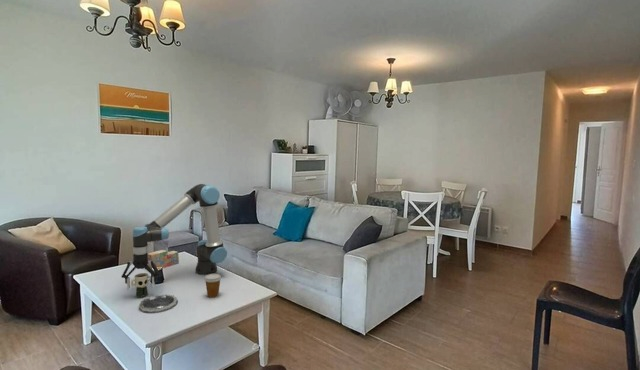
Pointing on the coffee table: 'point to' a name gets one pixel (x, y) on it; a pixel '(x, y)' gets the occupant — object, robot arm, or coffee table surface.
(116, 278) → the coffee table surface
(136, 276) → the character mug
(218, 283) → the disposable coffee cup
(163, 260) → the stack of blocks
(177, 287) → the coffee table surface
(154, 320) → the coffee table surface
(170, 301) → the silver metal tray
